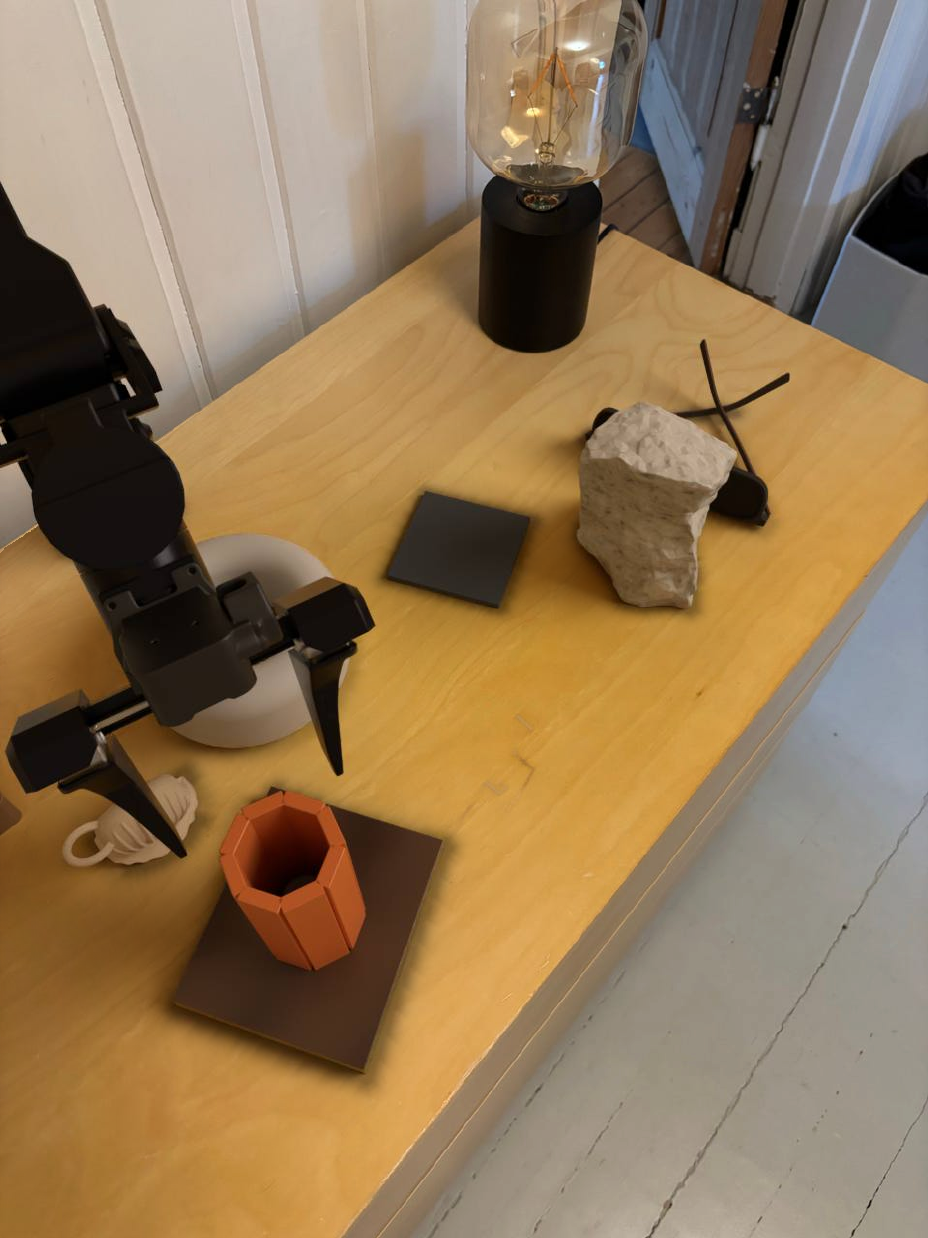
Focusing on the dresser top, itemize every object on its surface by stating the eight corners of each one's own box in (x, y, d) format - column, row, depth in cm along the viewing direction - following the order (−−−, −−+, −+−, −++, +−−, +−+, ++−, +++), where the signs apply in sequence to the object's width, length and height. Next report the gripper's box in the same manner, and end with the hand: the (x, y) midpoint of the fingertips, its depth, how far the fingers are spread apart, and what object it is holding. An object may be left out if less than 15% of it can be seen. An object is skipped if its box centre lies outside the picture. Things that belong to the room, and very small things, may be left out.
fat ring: (321, 555, 74) (309, 500, 68) (378, 714, 66) (371, 667, 60) (129, 610, 71) (101, 557, 65) (166, 783, 63) (138, 741, 58)
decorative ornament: (216, 819, 62) (197, 787, 57) (101, 899, 59) (72, 872, 54) (184, 775, 64) (164, 740, 59) (71, 851, 61) (41, 821, 56)
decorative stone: (717, 537, 75) (766, 402, 63) (683, 625, 70) (730, 498, 58) (596, 497, 77) (621, 358, 65) (556, 580, 73) (575, 448, 60)
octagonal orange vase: (247, 949, 56) (200, 888, 46) (288, 856, 59) (252, 779, 49) (341, 981, 55) (314, 926, 45) (377, 885, 58) (359, 812, 48)
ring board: (177, 1006, 56) (151, 985, 51) (274, 794, 63) (259, 760, 58) (366, 1074, 54) (357, 1059, 49) (444, 847, 61) (442, 816, 56)
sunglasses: (829, 433, 81) (849, 390, 77) (755, 540, 75) (773, 499, 70) (658, 356, 86) (668, 311, 82) (576, 449, 80) (582, 406, 76)
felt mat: (387, 578, 73) (386, 575, 72) (425, 494, 77) (425, 490, 77) (498, 608, 71) (498, 605, 71) (530, 520, 76) (530, 516, 75)
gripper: (-85, 658, 37) (97, 973, 41) (338, 477, 42) (463, 773, 46) (-45, 623, 47) (97, 878, 51) (292, 481, 53) (397, 722, 57)
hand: (263, 813), depth 51 cm, fingers open, 9 cm apart
